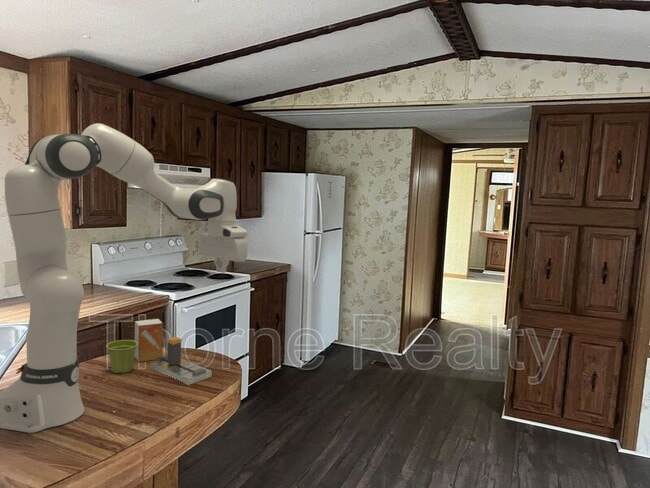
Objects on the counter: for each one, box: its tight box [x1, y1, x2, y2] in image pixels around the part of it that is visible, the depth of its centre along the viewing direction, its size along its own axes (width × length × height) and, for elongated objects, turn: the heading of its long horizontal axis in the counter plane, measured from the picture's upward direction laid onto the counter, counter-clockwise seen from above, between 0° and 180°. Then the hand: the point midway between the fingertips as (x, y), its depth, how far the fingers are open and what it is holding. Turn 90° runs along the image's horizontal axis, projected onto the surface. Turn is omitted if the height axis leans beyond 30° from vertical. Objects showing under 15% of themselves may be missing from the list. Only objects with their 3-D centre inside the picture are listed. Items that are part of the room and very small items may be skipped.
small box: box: [134, 318, 164, 363], centre depth 165 cm, size 8×6×13 cm
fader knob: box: [166, 336, 182, 365], centre depth 156 cm, size 3×3×8 cm
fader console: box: [150, 354, 213, 386], centre depth 154 cm, size 21×9×3 cm, turn 53°
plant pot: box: [105, 339, 138, 374], centre depth 154 cm, size 9×9×9 cm
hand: (221, 272), depth 154 cm, fingers closed
